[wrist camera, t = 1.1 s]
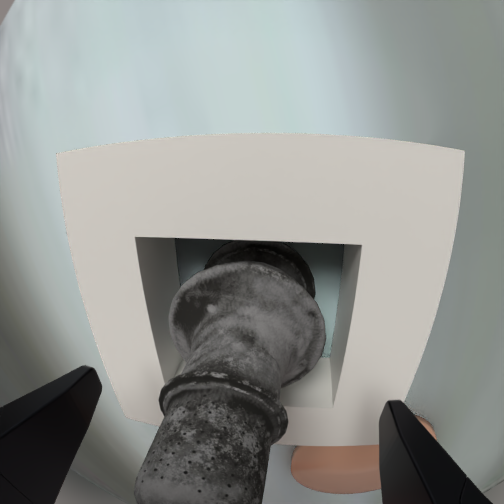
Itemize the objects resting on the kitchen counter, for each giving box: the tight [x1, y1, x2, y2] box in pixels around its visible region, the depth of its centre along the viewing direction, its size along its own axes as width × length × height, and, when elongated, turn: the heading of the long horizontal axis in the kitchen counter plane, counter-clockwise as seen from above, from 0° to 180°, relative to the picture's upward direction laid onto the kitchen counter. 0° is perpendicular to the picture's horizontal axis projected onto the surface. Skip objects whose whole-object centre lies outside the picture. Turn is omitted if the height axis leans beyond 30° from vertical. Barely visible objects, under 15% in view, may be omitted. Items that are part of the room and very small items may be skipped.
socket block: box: [56, 133, 465, 446], centre depth 13 cm, size 14×14×4 cm
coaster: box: [291, 415, 437, 494], centre depth 18 cm, size 11×11×1 cm
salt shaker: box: [134, 240, 326, 504], centre depth 9 cm, size 6×6×12 cm
